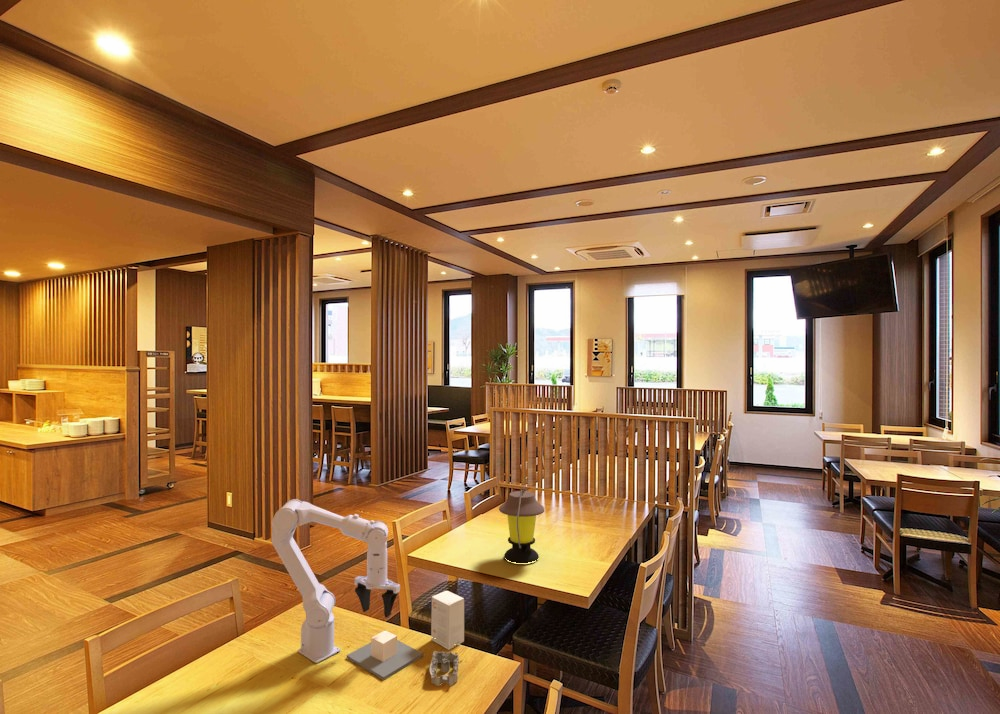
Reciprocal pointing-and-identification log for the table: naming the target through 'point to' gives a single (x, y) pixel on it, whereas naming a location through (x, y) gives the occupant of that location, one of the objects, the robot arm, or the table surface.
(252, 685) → the table surface
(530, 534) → the lantern
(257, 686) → the table surface
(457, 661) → the egg carton
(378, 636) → the cube
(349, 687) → the table surface
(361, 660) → the mat
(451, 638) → the small box
